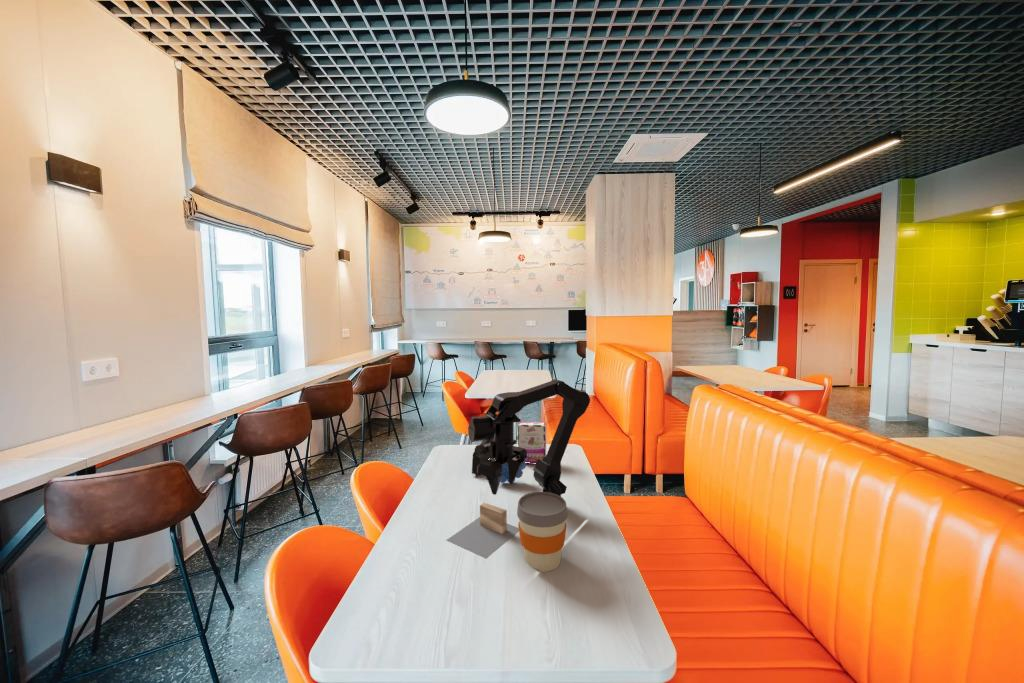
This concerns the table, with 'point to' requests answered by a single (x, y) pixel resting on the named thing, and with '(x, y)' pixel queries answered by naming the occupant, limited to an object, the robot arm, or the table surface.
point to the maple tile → (493, 517)
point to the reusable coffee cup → (542, 529)
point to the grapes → (506, 476)
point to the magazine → (477, 460)
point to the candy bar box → (532, 440)
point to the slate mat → (481, 538)
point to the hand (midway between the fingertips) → (503, 488)
